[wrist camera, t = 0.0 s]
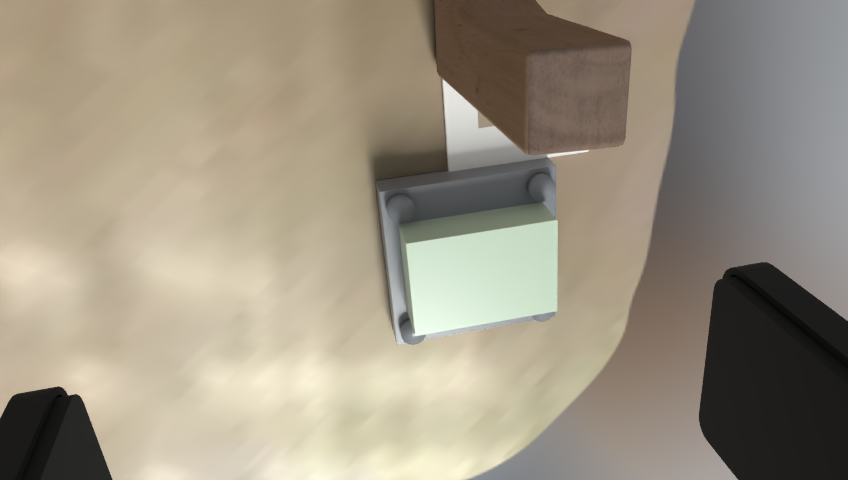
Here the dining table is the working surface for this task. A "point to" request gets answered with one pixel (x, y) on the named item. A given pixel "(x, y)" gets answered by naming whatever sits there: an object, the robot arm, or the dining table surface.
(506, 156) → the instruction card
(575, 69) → the wooden block
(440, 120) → the dining table surface
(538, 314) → the baseplate
